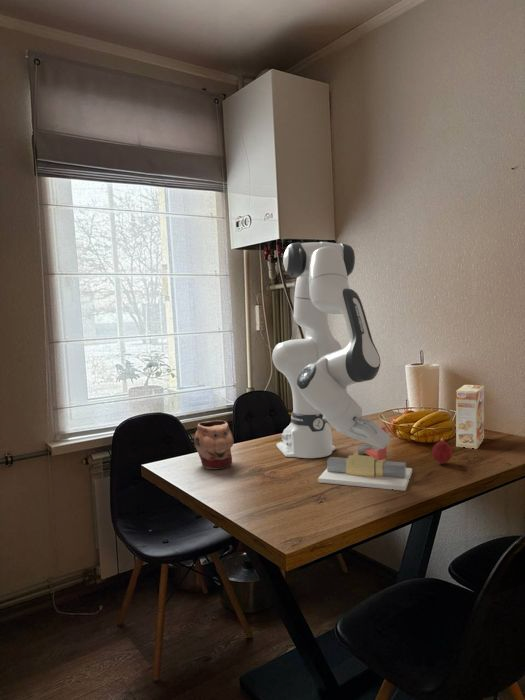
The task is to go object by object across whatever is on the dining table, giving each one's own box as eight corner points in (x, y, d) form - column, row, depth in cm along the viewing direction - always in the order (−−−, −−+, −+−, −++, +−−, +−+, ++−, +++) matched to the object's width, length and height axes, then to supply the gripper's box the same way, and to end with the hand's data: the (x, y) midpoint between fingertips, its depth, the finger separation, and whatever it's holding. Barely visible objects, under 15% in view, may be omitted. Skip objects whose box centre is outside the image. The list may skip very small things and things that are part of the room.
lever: (355, 450, 151) (354, 419, 151) (368, 449, 152) (368, 417, 152) (376, 462, 139) (376, 428, 138) (391, 461, 140) (390, 427, 139)
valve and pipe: (326, 477, 152) (325, 452, 151) (331, 470, 157) (330, 447, 157) (403, 484, 143) (403, 458, 143) (406, 477, 149) (406, 452, 148)
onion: (453, 467, 156) (453, 441, 156) (433, 466, 158) (433, 440, 157) (450, 461, 162) (450, 436, 161) (431, 461, 163) (431, 436, 163)
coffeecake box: (477, 449, 174) (477, 391, 172) (455, 447, 178) (454, 390, 176) (485, 438, 187) (485, 385, 185) (464, 436, 190) (463, 384, 189)
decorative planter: (186, 460, 174) (184, 419, 173) (219, 454, 180) (217, 414, 179) (208, 476, 157) (206, 430, 156) (245, 469, 162) (243, 425, 161)
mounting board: (318, 482, 148) (318, 478, 148) (332, 465, 162) (332, 461, 162) (405, 490, 138) (405, 486, 138) (412, 472, 153) (412, 468, 153)
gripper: (374, 411, 126) (408, 447, 130) (333, 400, 145) (363, 431, 149) (358, 431, 125) (393, 467, 129) (319, 417, 144) (350, 448, 148)
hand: (377, 448), depth 139 cm, fingers closed, pressing on lever
